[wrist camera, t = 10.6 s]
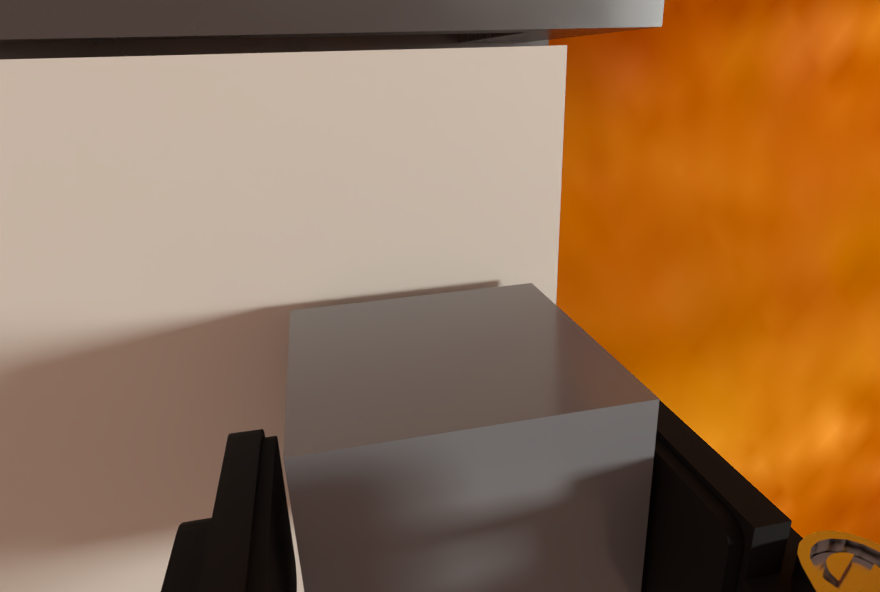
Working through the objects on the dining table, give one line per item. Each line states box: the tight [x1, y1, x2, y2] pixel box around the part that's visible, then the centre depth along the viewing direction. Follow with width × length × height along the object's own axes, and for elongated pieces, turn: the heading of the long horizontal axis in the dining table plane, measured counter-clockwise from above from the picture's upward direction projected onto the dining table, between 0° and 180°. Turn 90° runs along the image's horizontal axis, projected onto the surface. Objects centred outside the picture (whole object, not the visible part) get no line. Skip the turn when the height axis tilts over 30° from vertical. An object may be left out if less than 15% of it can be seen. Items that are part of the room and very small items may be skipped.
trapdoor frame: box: [0, 0, 664, 60], centre depth 17 cm, size 19×20×8 cm
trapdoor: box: [0, 45, 567, 592], centre depth 13 cm, size 18×14×3 cm
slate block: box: [283, 283, 660, 592], centre depth 11 cm, size 5×5×5 cm
